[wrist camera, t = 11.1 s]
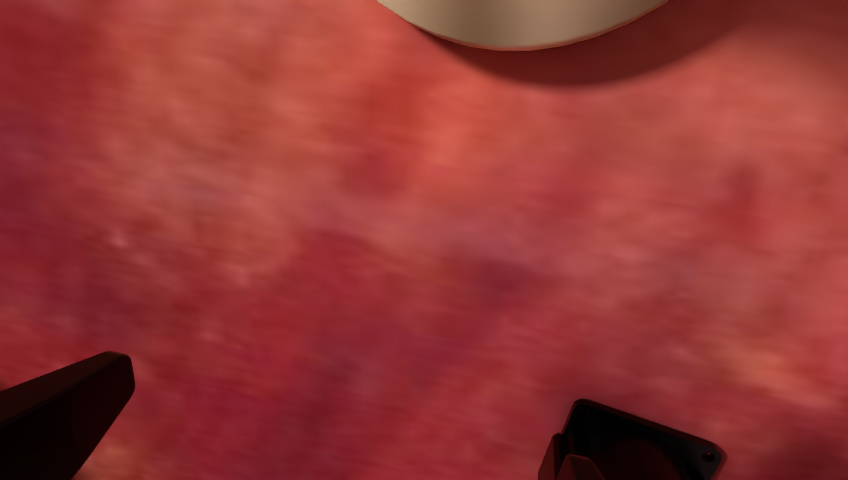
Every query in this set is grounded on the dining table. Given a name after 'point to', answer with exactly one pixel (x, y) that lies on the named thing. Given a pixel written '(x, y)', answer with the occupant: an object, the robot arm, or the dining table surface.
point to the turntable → (519, 20)
